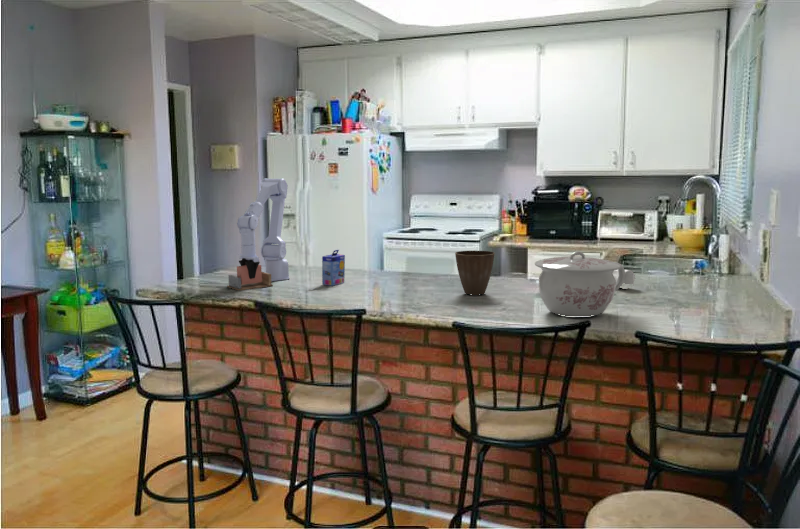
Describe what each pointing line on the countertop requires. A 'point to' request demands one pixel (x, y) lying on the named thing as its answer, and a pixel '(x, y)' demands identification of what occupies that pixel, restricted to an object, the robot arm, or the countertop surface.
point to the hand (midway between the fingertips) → (249, 277)
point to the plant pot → (474, 270)
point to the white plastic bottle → (628, 276)
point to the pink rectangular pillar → (243, 273)
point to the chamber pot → (578, 284)
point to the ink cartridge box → (333, 269)
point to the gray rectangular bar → (235, 281)
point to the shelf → (265, 283)
